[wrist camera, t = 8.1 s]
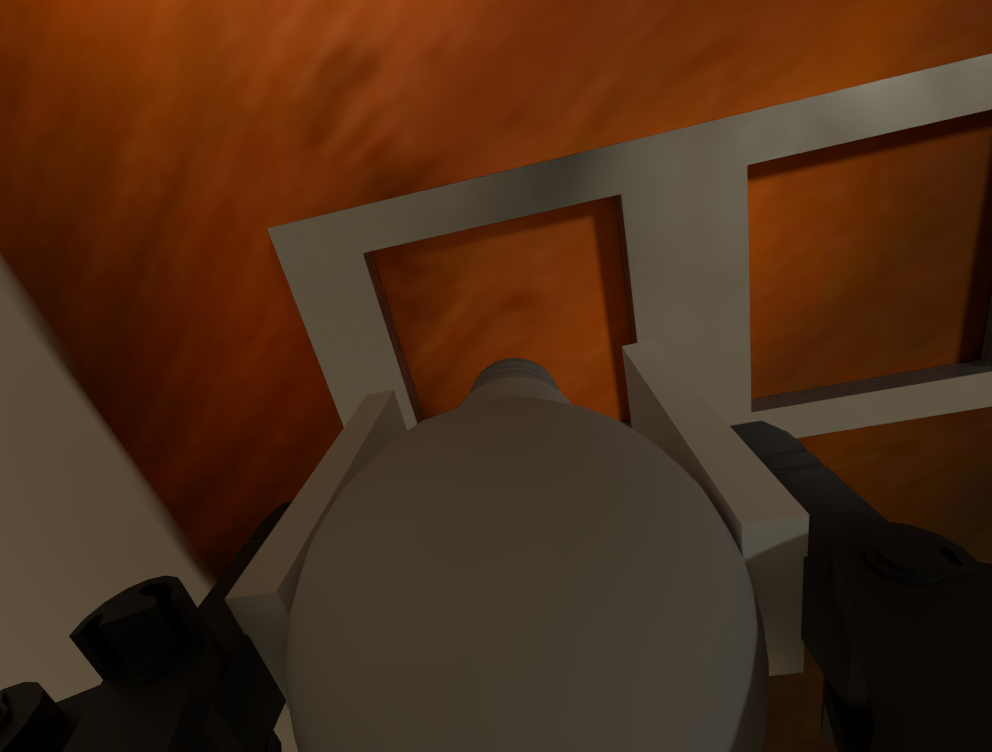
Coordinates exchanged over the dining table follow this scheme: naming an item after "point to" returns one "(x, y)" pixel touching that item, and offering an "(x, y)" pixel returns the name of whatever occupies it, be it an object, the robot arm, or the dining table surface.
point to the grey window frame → (645, 254)
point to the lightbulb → (525, 593)
